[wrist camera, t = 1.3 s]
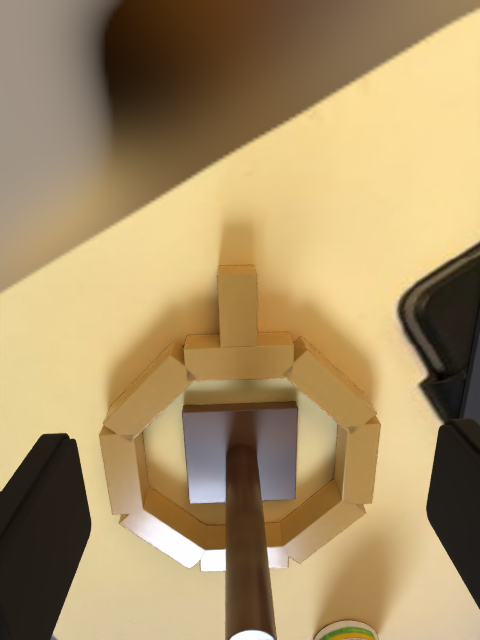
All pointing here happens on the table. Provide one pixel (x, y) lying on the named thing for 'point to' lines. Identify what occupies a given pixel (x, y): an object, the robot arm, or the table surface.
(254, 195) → the table surface
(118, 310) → the table surface
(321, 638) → the supplement bottle
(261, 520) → the post stand
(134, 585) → the table surface
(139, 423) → the ring
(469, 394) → the mat
